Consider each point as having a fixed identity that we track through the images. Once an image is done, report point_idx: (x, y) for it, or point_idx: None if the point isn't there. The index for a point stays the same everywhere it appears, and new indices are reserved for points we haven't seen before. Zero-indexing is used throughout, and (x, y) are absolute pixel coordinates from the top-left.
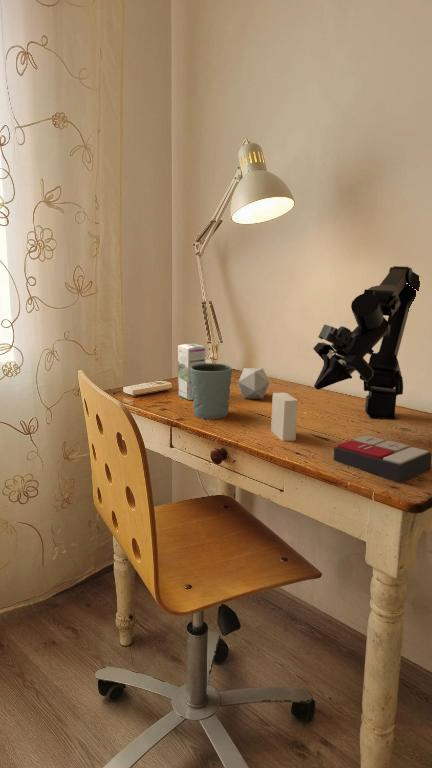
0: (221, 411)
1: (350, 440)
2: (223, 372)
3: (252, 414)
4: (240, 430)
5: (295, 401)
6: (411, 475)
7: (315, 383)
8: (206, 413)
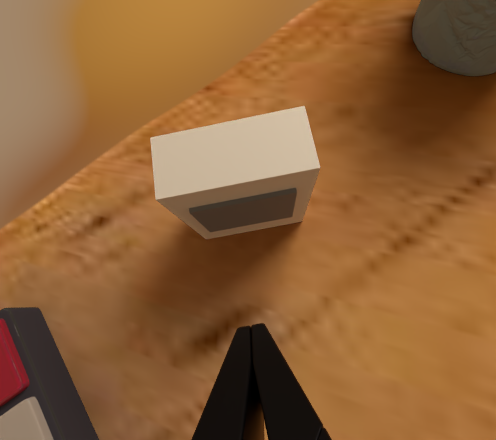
0: (433, 39)
1: (21, 384)
2: None
3: (485, 150)
4: (300, 101)
5: (157, 190)
6: None
7: (265, 337)
8: (419, 6)
